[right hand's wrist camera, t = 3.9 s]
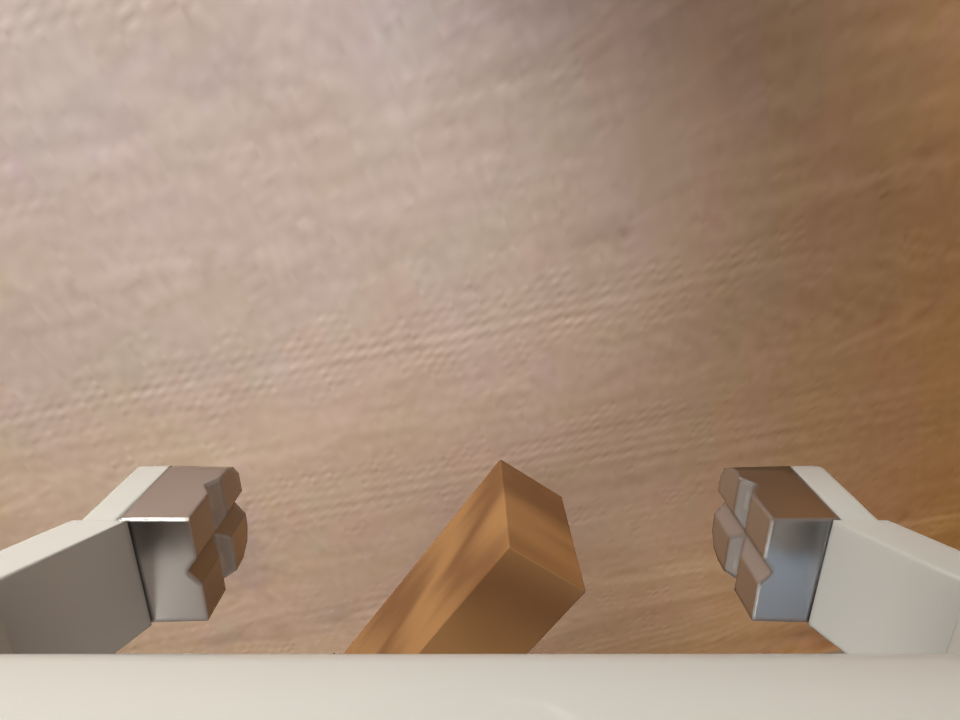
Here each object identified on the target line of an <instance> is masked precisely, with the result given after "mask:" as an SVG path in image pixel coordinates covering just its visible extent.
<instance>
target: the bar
mask: <svg viewBox="0 0 960 720" xmlns="http://www.w3.org/2000/svg"><path fill="white" fill-rule="evenodd" d="M584 593H585V587H584V583H583V579H582V575H581V572H580V568H579V564H578V560H577V556H576V552H575V548H574V544H573V540H572V536H571V532H570V529H569V525H568V521H567V517H566V513H565V509H564V505H563V501H562V497H561V496H559V495H557V494H556V493H554V492H553V491H551V490H549V489H548V488H546V487H544V486H543V485H541V484H540V483H538V482H536V481H535V480H533V479H531V478H530V477H528V476H527V475H525V474H523V473H522V472H520V471H518V470H517V469H515V468H514V467H512V466H510V465H509V464H507V463H505V462H504V461H502V460H500V461H499V462H498V463H497V464H496V466H495V467H494V468H493V469H492V471H491V472H490V473H489V474H488V476H487V477H486V478H485V479H484V481H483V482H482V483H481V484H480V486H479V487H478V488H477V489H476V490H475V492H474V493H473V494H472V495H471V497H470V498H469V499H468V500H467V502H466V503H465V504H464V505H463V507H462V508H461V509H460V510H459V512H458V513H457V514H456V515H455V517H454V518H453V519H452V520H451V521H450V523H449V524H448V525H447V526H446V528H445V529H444V530H443V531H442V533H441V534H440V535H439V536H438V538H437V539H436V540H435V541H434V543H433V544H432V545H431V546H430V548H429V549H428V550H427V551H426V552H425V554H424V555H423V556H422V557H421V559H420V560H419V561H418V562H417V564H416V565H415V566H414V567H413V569H412V570H411V571H410V572H409V574H408V575H407V576H406V577H405V578H404V580H403V581H402V582H401V583H400V585H399V586H398V587H397V588H396V590H395V591H394V592H393V593H392V595H391V596H390V597H389V598H388V600H387V601H386V602H385V603H384V605H383V606H382V607H381V608H380V609H379V611H378V612H377V613H376V614H375V616H374V617H373V618H372V619H371V621H370V622H369V623H368V624H367V626H366V627H365V628H364V629H363V631H362V632H361V633H360V634H359V636H358V637H357V638H356V639H355V640H354V642H353V643H352V644H351V645H350V647H349V648H348V649H347V650H346V652H345V653H344V654H527V653H528V652H529V651H530V650H531V649H532V648H533V647H534V646H535V645H536V644H537V643H538V642H539V641H540V639H541V638H542V637H543V636H544V635H545V634H546V633H547V632H548V631H549V630H550V629H551V628H552V627H553V626H554V625H555V624H556V622H557V621H558V620H559V619H560V618H561V617H562V616H563V615H564V614H565V613H566V612H567V611H568V610H569V609H570V608H571V606H572V605H573V604H574V603H575V602H576V601H577V600H578V599H579V598H580V597H581V596H582V595H583V594H584Z"/></svg>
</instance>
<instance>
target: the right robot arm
mask: <svg viewBox="0 0 960 720" xmlns="http://www.w3.org/2000/svg"><path fill="white" fill-rule="evenodd" d="M241 491H242V488H241V483H240V478H239V473H238V472H237V471H236V470H235V469H234V468H233V467H201V466H174V467H173V466H171V465H168V466H143V467H138V468H137V469H136V470H134V471H133V472H132V473H131V474H130V475H129V476H128V477H127V478H126V479H125V480H124V481H123V482H122V483H121V484H120V485H119V486H118V487H117V488H116V489H114V490H113V491H112V492H111V493H110V494H109V495H108V496H107V497H106V498H105V499H104V500H103V501H102V502H101V503H100V504H99V505H98V506H97V507H96V508H94V509H93V510H92V511H91V512H90V513H89V514H88V515H87V516H86V517H85V518H84V519H83V520H72V521H69V522H67V523H65V524H62V525H60V526H57V527H55V528H53V529H50V530H48V531H46V532H43V533H41V534H39V535H36V536H34V537H32V538H29V539H27V540H24V541H22V542H20V543H17V544H15V545H13V546H10V547H8V548H6V549H3V550H1V551H0V720H960V551H959V550H957V549H954V548H952V547H950V546H947V545H945V544H943V543H940V542H938V541H935V540H933V539H931V538H928V537H926V536H924V535H921V534H919V533H917V532H914V531H912V530H910V529H907V528H905V527H903V526H900V525H898V524H895V523H893V522H891V521H888V520H877V519H876V518H875V517H874V516H873V515H872V514H871V513H870V512H869V511H868V510H867V509H866V508H865V507H864V506H862V505H861V504H860V503H859V502H858V501H857V500H856V499H855V498H854V497H853V496H852V495H851V494H850V493H849V492H848V491H847V490H846V489H845V488H844V487H843V486H841V485H840V484H839V483H838V482H837V481H836V480H835V479H834V478H833V477H832V476H831V475H830V474H829V473H828V472H827V471H826V470H825V469H824V468H822V467H819V466H816V465H809V466H775V467H734V468H724V470H723V472H722V475H721V477H720V482H719V488H718V491H719V493H720V494H721V496H722V497H723V499H724V500H725V503H724V504H723V505H722V506H721V507H720V508H719V509H718V510H717V511H716V512H715V513H714V521H713V529H712V533H713V543H714V549H715V552H716V556H717V559H718V561H719V563H720V565H721V566H722V568H723V570H724V571H726V572H727V573H729V574H730V575H732V576H733V577H735V578H736V583H735V589H734V590H735V591H736V593H737V595H738V597H739V598H740V600H741V602H742V604H743V605H744V607H745V609H746V611H747V612H748V614H749V616H750V618H751V619H752V621H784V622H809V623H808V625H809V626H811V627H812V628H813V629H815V630H816V631H817V632H818V633H820V634H821V635H822V636H824V637H825V638H826V639H828V640H829V641H830V642H832V643H833V644H834V645H835V646H837V647H838V648H839V649H841V650H842V651H843V652H845V653H846V654H114V653H116V652H117V651H118V650H120V649H121V648H122V647H123V646H125V645H126V644H127V643H129V642H130V641H131V640H133V639H134V638H135V637H137V636H138V635H139V634H140V633H142V632H143V631H144V630H146V629H147V628H148V627H150V626H151V622H175V621H208V620H209V618H210V616H211V614H212V613H213V611H214V609H215V607H216V606H217V604H218V602H219V600H220V599H221V597H222V595H223V593H224V592H225V590H226V589H225V583H224V578H225V577H227V576H228V575H230V574H231V573H233V572H234V571H236V570H237V568H238V566H239V565H240V563H241V561H242V559H243V556H244V552H245V548H246V544H247V519H246V513H245V512H244V511H243V510H242V509H241V508H240V507H239V506H238V505H237V504H236V503H235V500H236V499H237V497H238V496H239V494H240V493H241Z"/></svg>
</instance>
